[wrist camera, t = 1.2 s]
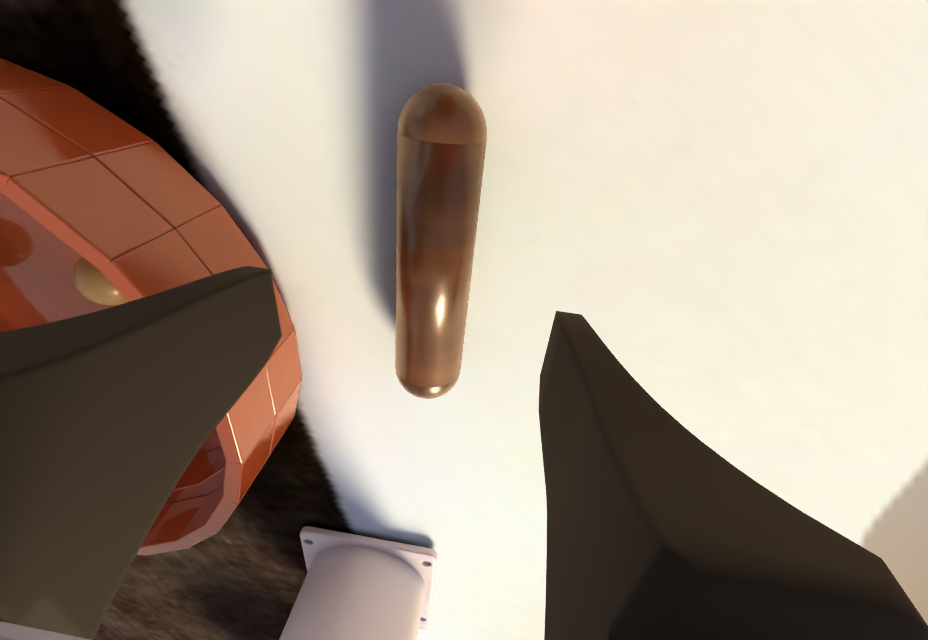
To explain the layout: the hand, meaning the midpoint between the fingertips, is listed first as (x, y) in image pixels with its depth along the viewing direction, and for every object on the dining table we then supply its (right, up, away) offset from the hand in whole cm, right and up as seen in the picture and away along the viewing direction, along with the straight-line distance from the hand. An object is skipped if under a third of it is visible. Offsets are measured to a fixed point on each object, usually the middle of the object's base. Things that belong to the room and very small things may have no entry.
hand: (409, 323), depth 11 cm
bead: (-11, +2, +4) cm, 12 cm away
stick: (+1, +2, +4) cm, 5 cm away
